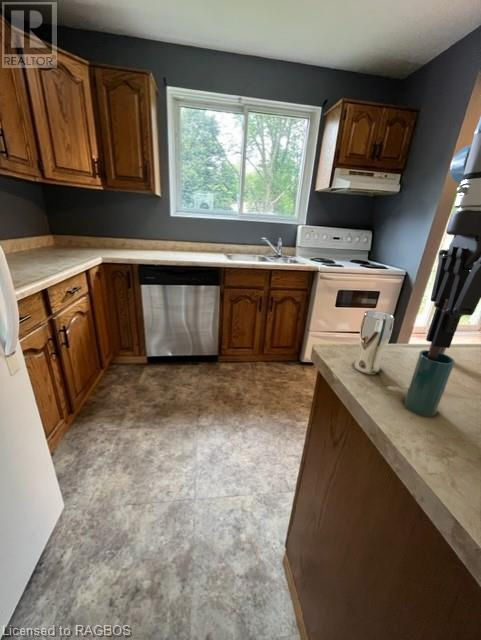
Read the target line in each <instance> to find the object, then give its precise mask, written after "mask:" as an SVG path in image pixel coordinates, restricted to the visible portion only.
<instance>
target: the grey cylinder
mask: <svg viewBox="0 0 481 640" xmlns="http://www.w3.org/2000/svg"><path fill="white" fill-rule="evenodd" d="M431 344H432V342H431V343H430V346H429V349H428V350H430V347H431ZM446 349H447V348H443V347H441V349H440V352H439V353H443V354H445V352H446Z"/></svg>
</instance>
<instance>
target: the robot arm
mask: <svg viewBox="0 0 481 640" xmlns="http://www.w3.org/2000/svg"><path fill="white" fill-rule="evenodd" d="M473 134H474V135H473V139H472V143H471V144H469V145H466V146H464V147H462V148H461V149H460V150H458V151H457V152H456V154H455V155H454V156H453V158H452V160H451V162H450V168H449V175H450V178H451V180H452V181H453V182H454V183H456V184H457V185H460V186H458V187H457V188H456V193H457V195H456V199H455V202H454V205H453V206H454V208H455V209H457V211H453V212H452V213H451V214H450V217H449V221H448V224H447V228H446V232H445V233H446V234H447V235H449V236H453V238H452V240H451V242H450V244H449V247H448V248H447V249H440V250H439V251H438V262H437V267H436V272H435V276H434V281H433V287H432V289H431V290H432V292H431V295H430V302H433V303H434V305H433V306H434V308H435V310H434V313H433V316H432V319H431V323H430V326H429V328H428V332H427V335H426V338H425V341H426V342H427V343H428V342H432V341H433V342H432V346H434V347H443V348H446V349H450V347H451V345H452V341H453V339H454V336H455V334H456V332H457V330H458V329H457V328H458V326H459V323H460V320H461V318H462V317H463V316H473V315H474V314H475V313H474V312H475V310H476V308H477V307H478V304H479V303H480V301H481V116H480V117H479V119H478V123H477V126H476V128H475V130H474V133H473ZM446 299H449V302H448V305H447V309H446V310H443V307H444V304H445V301H446ZM441 313H442V314H441ZM440 316H441V317H440ZM439 319H440V320H439ZM438 322H439V323H438ZM437 325H438V326H437ZM436 328H437V329H436Z"/></svg>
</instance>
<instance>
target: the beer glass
mask: <svg viewBox="0 0 481 640" xmlns="http://www.w3.org/2000/svg"><path fill="white" fill-rule="evenodd" d="M394 321H395V316H394V315H393V314H391V313H388V312H385V311H381V310H366V311H364V315H363V318H362V321H361V324H360V328H359V337H358V341H359V342H358V355H357V358H356V360H355V362H354V368H355V370H357V371H358V372H361V373H363V374H366V375H377V374H379V372H380V370H381V369H380V368H381V366H380V365H381V359H382V356H383V355H384V353H385V350H386V348H387V347H388V344H389V342H390V339H391V336H392V332H393V327H394V323H395V322H394Z"/></svg>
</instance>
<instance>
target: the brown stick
mask: <svg viewBox="0 0 481 640" xmlns="http://www.w3.org/2000/svg"><path fill="white" fill-rule="evenodd" d="M448 302H449V299H446V301H445V304H444V307H443V310H446V309H447V305H448ZM441 314H442V313H441ZM440 317H441V316H440ZM439 320H440V319H439ZM438 323H439V322H438ZM437 326H438V325H437ZM436 329H437V328H436ZM432 342H433V341H432ZM430 346H431V347H430ZM430 346H429V349H430V350H429V349H428V350H429V353H428V356H427V358H428V359H430V360H433V361H437V358H438V355H439V352H440V349H441V347H434V346H432V344H431V343H430Z"/></svg>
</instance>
